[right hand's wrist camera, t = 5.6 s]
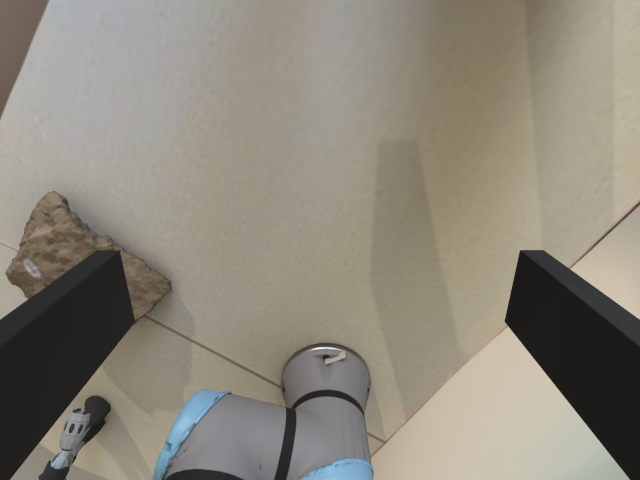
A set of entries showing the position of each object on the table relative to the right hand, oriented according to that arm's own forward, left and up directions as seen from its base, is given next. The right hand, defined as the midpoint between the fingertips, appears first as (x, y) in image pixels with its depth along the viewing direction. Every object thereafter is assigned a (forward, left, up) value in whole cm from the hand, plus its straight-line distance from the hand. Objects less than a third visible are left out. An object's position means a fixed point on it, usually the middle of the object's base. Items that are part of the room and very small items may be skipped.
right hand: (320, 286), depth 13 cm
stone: (-37, +10, -41) cm, 56 cm away
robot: (-63, -6, -41) cm, 75 cm away
